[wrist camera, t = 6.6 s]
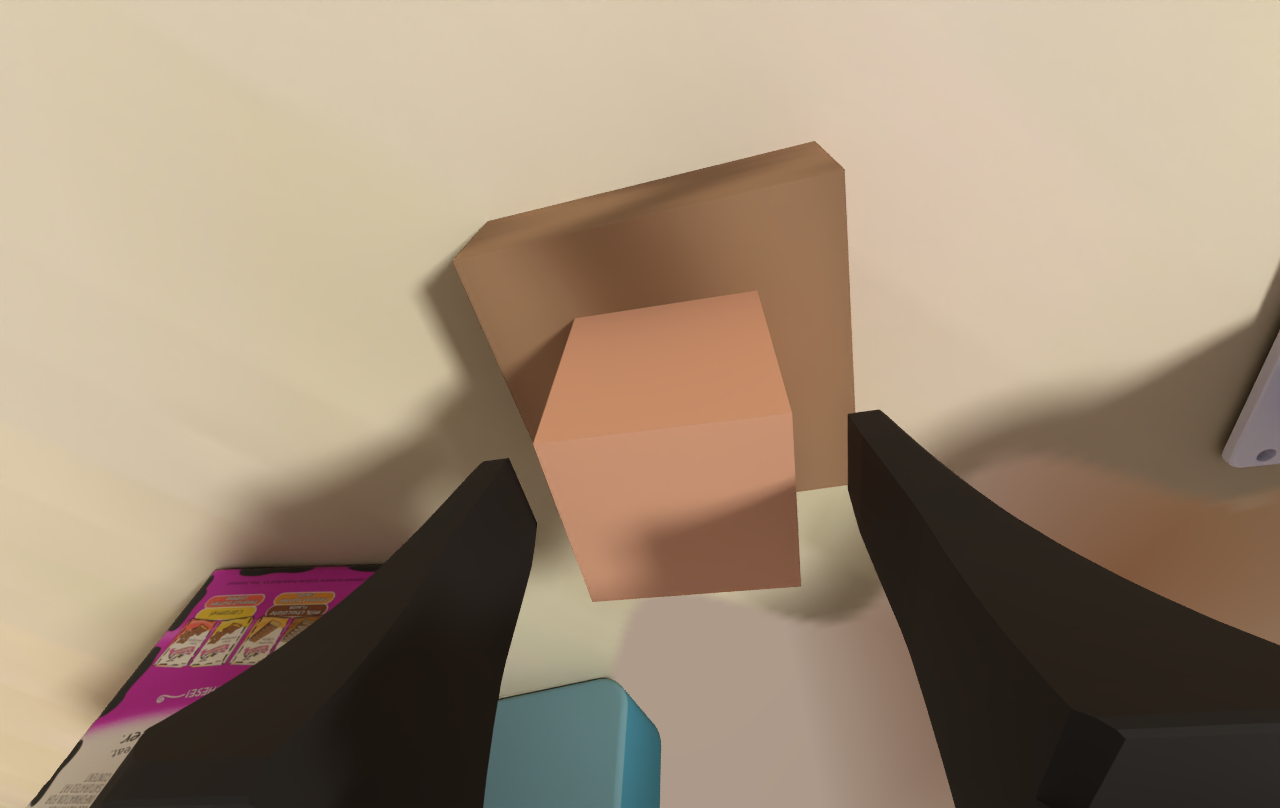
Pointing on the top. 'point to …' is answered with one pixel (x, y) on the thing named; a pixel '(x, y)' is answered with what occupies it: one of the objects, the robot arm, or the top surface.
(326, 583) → the candy bar box
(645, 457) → the terracotta block
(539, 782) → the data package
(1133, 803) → the robot arm
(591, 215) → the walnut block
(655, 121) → the top surface
